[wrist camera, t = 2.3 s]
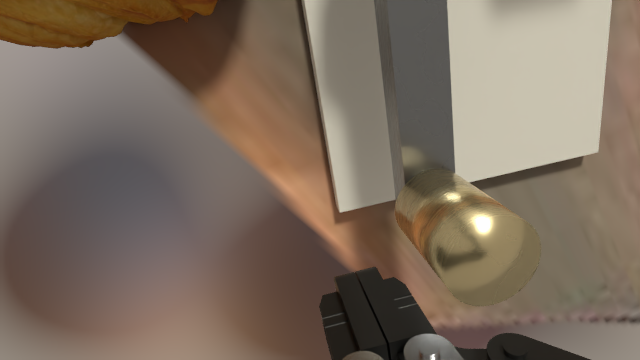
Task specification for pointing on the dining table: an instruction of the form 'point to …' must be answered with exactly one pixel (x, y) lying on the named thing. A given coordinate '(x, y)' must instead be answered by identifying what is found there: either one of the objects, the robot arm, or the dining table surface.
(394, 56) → the bar
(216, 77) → the dining table surface
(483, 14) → the plate
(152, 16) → the croissant
